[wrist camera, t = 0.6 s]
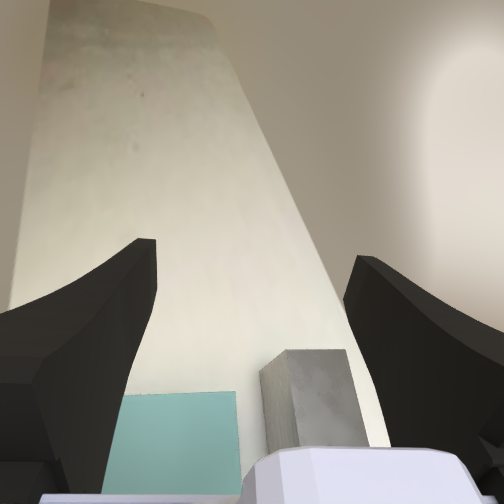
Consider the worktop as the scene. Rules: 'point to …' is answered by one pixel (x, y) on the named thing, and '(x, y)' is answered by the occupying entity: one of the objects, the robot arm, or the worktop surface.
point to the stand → (175, 445)
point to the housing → (311, 401)
